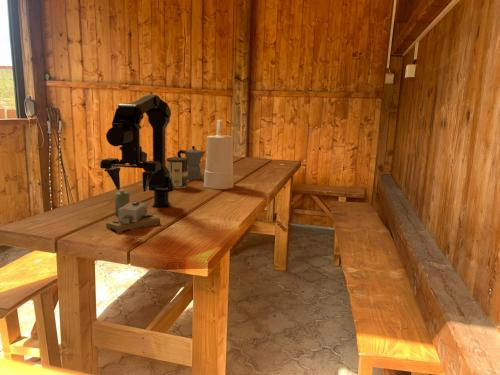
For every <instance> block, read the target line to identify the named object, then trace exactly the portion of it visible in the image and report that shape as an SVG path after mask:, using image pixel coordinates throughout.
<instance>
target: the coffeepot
mask: <svg viewBox="0 0 500 375" xmlns="http://www.w3.org/2000/svg"><path fill="white" fill-rule="evenodd" d="M191 148H192V149H188V150H186V149H185V150H184V149H180V150H179V151H177V153H176V154H177V157H182V156H181V154H182V155H183V154H184V155H185V158H187V159H188V160H187V180H200V179H202V171H201V167H200V164H201V160H202V157H204V154H206V152H205V151H203V150H199V149H195V148H196V146H195V145H192V146H191Z"/></svg>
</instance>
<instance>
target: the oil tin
mask: <svg viewBox="0 0 500 375" xmlns="http://www.w3.org/2000/svg"><path fill="white" fill-rule="evenodd" d="M114 202H115V203H114V204H115V206H114V207H115V208H114V209H115V216H116V217H118V209H120V208H121V207H123V206H124V205H126V204H128V203H129V202H131V201H130V192H129V191H125V189H119V191H116V192H115V193H114Z"/></svg>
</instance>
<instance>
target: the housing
mask: <svg viewBox="0 0 500 375" xmlns="http://www.w3.org/2000/svg"><path fill="white" fill-rule="evenodd" d="M146 215H148V204H147V202H140V201H130V202H129V203H128V204H126V205H124V206H123V207H121V208H120V209H118V216H117V217H118V221H122V223H125V224H129V223H131V222H138V221H139V220H140V219H141V218H143V217H144V216H146Z"/></svg>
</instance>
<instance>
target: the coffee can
mask: <svg viewBox="0 0 500 375" xmlns="http://www.w3.org/2000/svg"><path fill="white" fill-rule="evenodd" d="M187 160H188V159H187V158H186V157H183V156H181V157H178V156H177V157H176V156H175V157H167V158H165V161H166V167H167V169H168V170H169V172H170V178H171V180H172V182H173V184H174V188H173V189H185V188H187V187H188V179H187Z"/></svg>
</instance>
